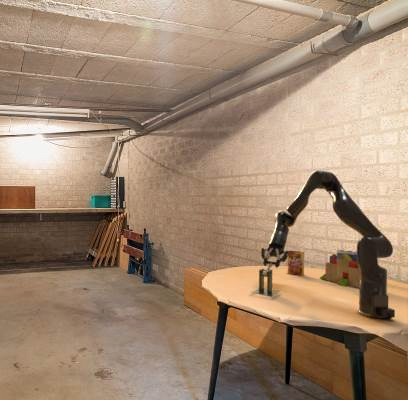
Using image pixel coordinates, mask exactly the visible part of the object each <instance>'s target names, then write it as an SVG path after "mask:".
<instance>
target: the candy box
mask: <svg viewBox="0 0 408 400" xmlns="http://www.w3.org/2000/svg"><path fill="white" fill-rule="evenodd" d="M287 251H288V252H289V256H288V257H287V274H291V275H297V276H305V251H302V250H293V249H288V250H287Z"/></svg>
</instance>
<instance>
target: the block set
mask: <svg viewBox="0 0 408 400" xmlns="http://www.w3.org/2000/svg"><path fill="white" fill-rule="evenodd" d="M324 272H325V273H324V274H322V275H321V276H320V277H319V279H320V280H324V281H328V282H333V283H336V284H338V285H339V286H342V287H347V286H349V287H352V288H357V289H359V280H360V270H359V267H358V262H357V254H353V253H347V252H340V253H337V252H336V254H335V253H333V254H331V255H329V262H325V271H324Z"/></svg>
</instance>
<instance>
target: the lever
mask: <svg viewBox="0 0 408 400" xmlns="http://www.w3.org/2000/svg"><path fill="white" fill-rule="evenodd" d="M266 263H267V265H268V266H266V269H264V271H263V272H262V273H263V277H264V278H267V271H269V270H271V268H272V266H273V265H274V266H275V264H276V261H270V260H268V261H267V262H266Z"/></svg>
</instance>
